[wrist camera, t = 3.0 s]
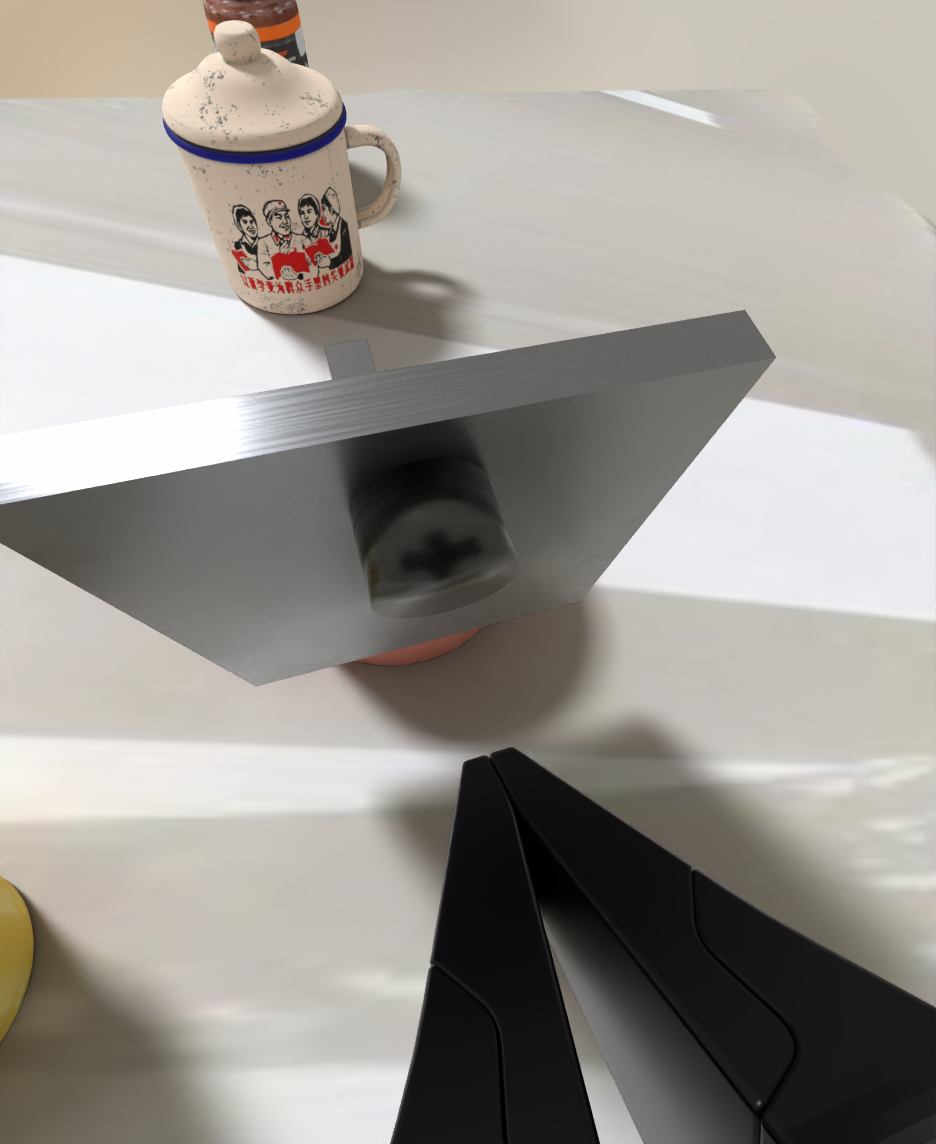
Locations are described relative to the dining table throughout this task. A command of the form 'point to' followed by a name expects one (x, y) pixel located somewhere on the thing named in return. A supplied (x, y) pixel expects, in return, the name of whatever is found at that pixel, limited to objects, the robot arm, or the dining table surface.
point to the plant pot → (13, 953)
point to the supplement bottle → (264, 24)
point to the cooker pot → (358, 361)
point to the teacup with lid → (275, 172)
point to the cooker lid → (377, 493)
